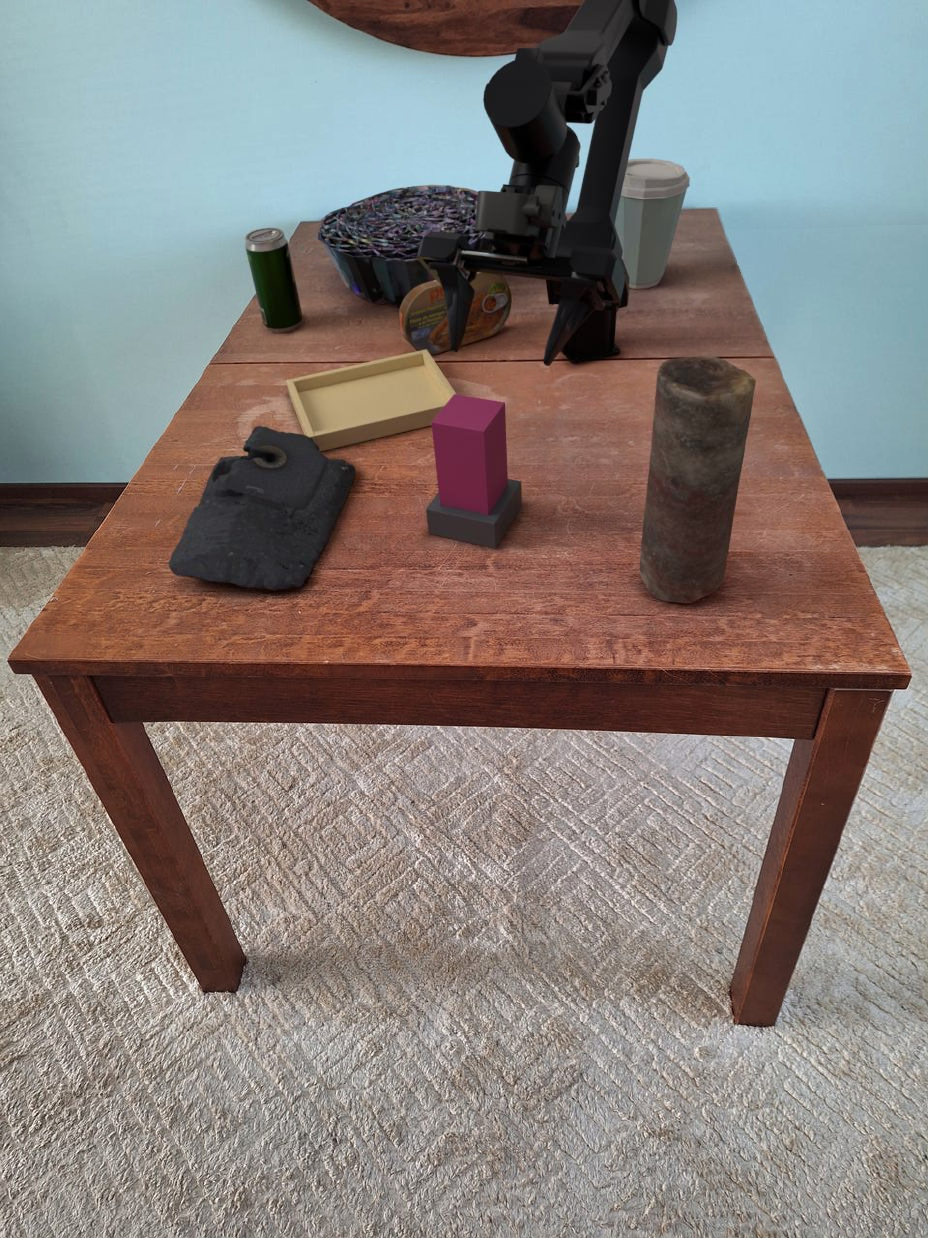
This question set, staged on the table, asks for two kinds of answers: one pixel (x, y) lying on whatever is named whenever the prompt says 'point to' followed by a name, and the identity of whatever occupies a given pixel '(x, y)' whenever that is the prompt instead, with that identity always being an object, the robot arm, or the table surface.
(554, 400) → the table surface
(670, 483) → the stone cylinder vase
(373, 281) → the decorative bowl
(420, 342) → the tin
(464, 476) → the mulberry block
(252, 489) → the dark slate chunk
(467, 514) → the base block
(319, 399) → the tray
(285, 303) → the beer can
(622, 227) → the disposable coffee cup
